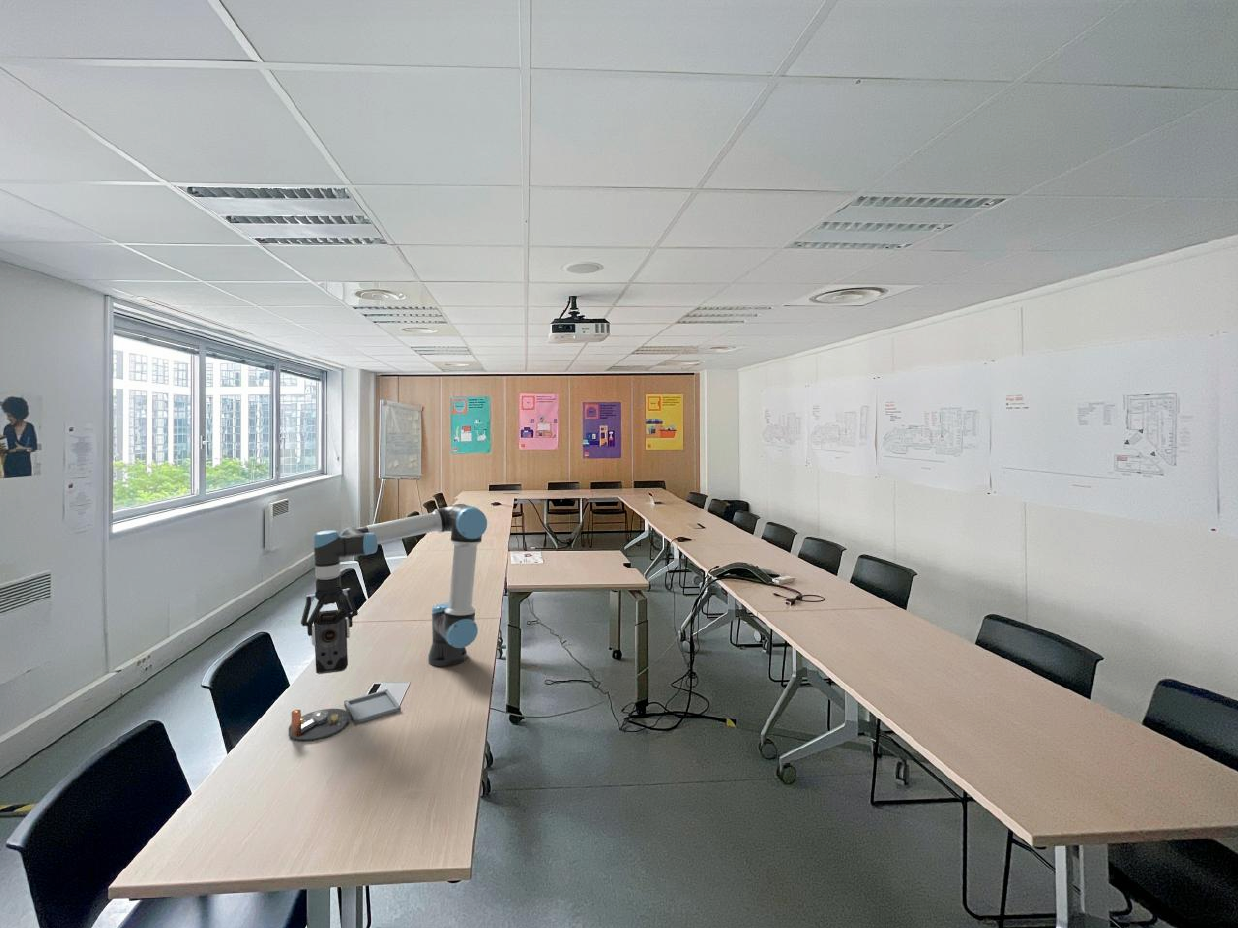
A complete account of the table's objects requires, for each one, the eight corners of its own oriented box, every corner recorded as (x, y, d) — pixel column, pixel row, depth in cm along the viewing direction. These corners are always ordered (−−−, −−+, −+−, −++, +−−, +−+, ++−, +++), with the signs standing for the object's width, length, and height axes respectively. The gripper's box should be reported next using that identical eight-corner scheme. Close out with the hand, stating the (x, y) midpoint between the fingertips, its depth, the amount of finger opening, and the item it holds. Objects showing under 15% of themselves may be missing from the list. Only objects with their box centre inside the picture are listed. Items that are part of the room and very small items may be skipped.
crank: (320, 716, 175) (320, 695, 174) (330, 719, 173) (330, 697, 173) (287, 734, 164) (287, 712, 164) (298, 737, 163) (297, 715, 162)
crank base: (343, 707, 184) (343, 696, 184) (355, 729, 171) (355, 716, 170) (285, 724, 173) (284, 712, 173) (292, 748, 160) (292, 735, 160)
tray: (387, 693, 194) (387, 689, 194) (400, 711, 181) (400, 707, 181) (344, 705, 185) (344, 701, 185) (355, 725, 173) (355, 720, 173)
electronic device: (314, 675, 183) (312, 617, 182) (319, 667, 189) (316, 611, 188) (345, 671, 186) (342, 614, 184) (349, 664, 191) (346, 608, 190)
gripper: (360, 569, 195) (363, 629, 196) (288, 580, 181) (291, 645, 183) (366, 573, 189) (368, 635, 190) (291, 585, 175) (294, 652, 177)
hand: (331, 640), depth 187 cm, fingers closed on electronic device, 10 cm apart
